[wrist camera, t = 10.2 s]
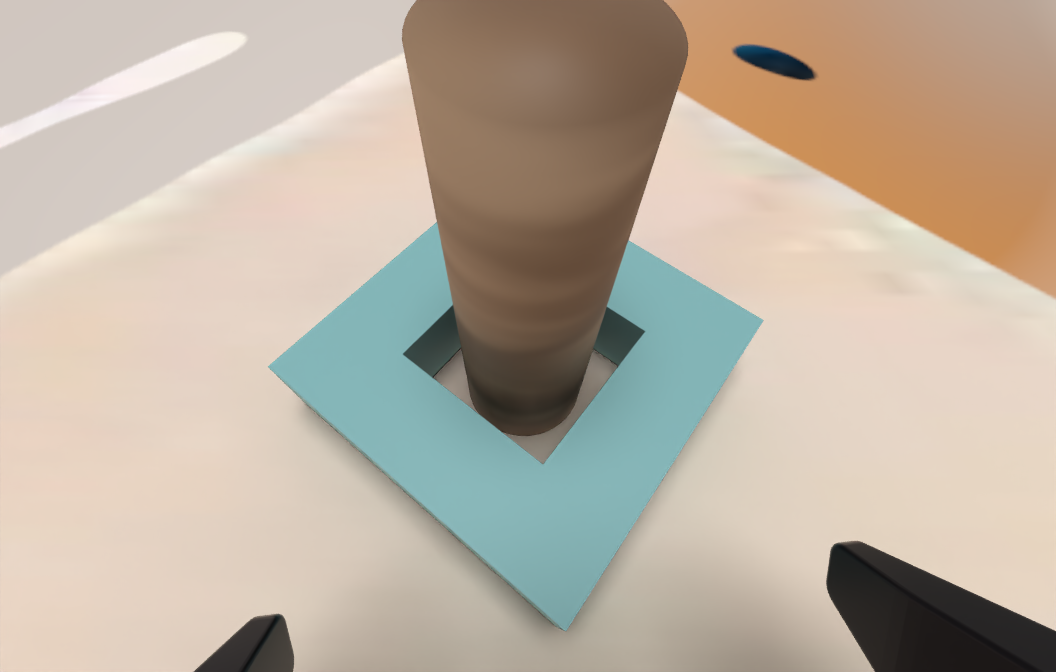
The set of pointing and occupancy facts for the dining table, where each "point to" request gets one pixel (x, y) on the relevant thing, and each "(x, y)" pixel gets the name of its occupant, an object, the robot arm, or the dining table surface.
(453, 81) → the walnut pin
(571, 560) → the socket block
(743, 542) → the dining table surface
